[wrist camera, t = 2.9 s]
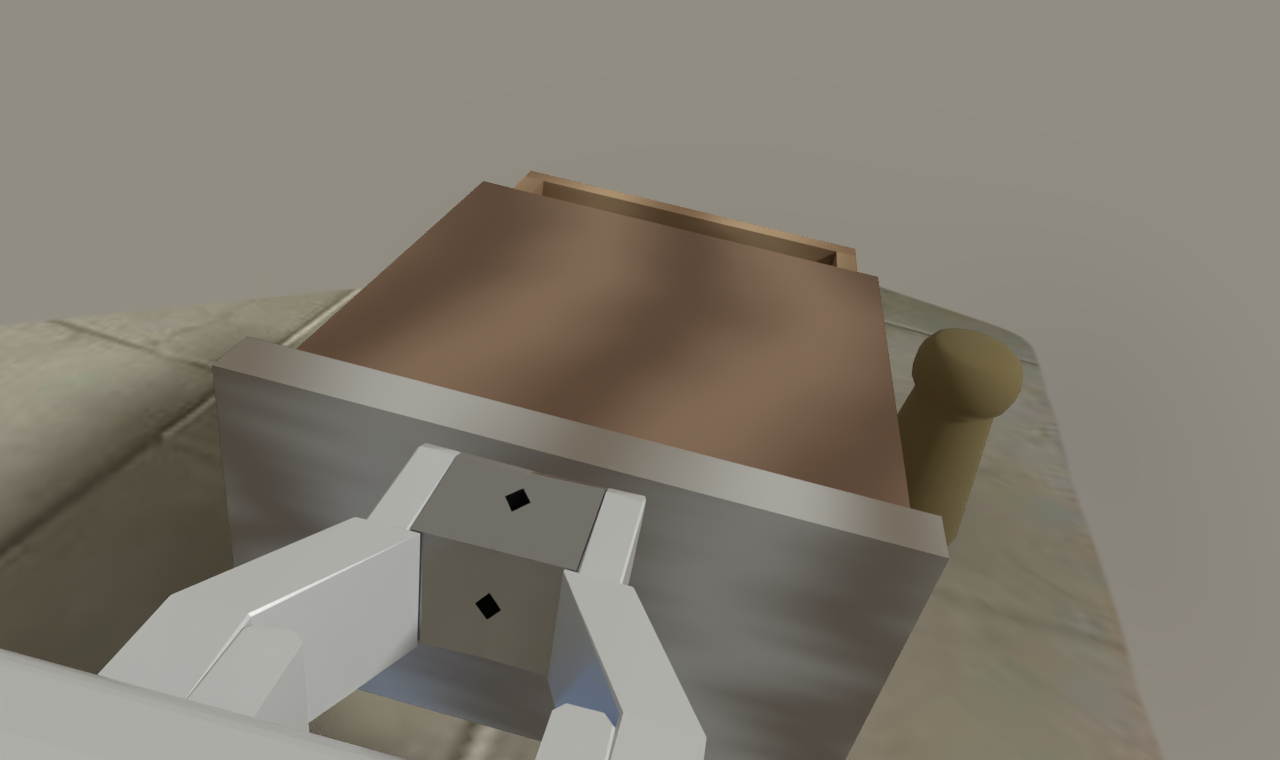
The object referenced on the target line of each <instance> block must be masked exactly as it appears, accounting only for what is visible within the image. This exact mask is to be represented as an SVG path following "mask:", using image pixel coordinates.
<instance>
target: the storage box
mask: <svg viewBox="0 0 1280 760" xmlns="http://www.w3.org/2000/svg"><path fill="white" fill-rule="evenodd" d="M513 189H517V190H521V191H526V192H530V193H534V194H538V195H542V196H546V197H550V198H554V199H558V200H563V201H567V202H571V203H575V204H579V205H583V206H587V207H591V208H596V209H600V210H604V211H608V212H612V213H616V214H620V215H624V216H629V217H633V218H637V219H641V220H645V221H649V222H653V223H657V224H662V225H666V226H670V227H674V228H678V229H682V230H686V231H690V232H695V233H699V234H703V235H707V236H711V237H715V238H719V239H723V240H727V241H732V242H736V243H740V244H744V245H748V246H752V247H756V248H760V249H765V250H769V251H773V252H777V253H781V254H785V255H789V256H793V257H798V258H802V259H806V260H810V261H814V262H818V263H822V264H826V265H831V266H835V267H839V268H843V269H847V270H851V271H855V272H857V264H856V253H855V249H853V248H849V247H844V246H841V245H837V244H833V243H828V242H824V241H820V240H816V239H811V238H807V237H803V236H799V235H795V234H791V233H787V232H783V231H779V230H774V229H770V228H766V227H762V226H757V225H753V224H749V223H745V222H741V221H737V220H733V219H728V218H725V217H720V216H716V215H712V214H708V213H704V212H700V211H695V210H691V209H687V208H683V207H679V206H675V205H671V204H666V203H662V202H658V201H654V200H650V199H646V198H642V197H637V196H633V195H629V194H625V193H621V192H616V191H613V190H608V189H604V188H600V187H596V186H592V185H588V184H583V183H579V182H575V181H571V180H567V179H563V178H558V177H554V176H550V175H546V174H542V173H538V172H534V171H530V172H529V173H528V174H527V175H526V176H525V177H524V179H522V180H521V181H520V182H519V183H518V185H516V186H515V187H514V188H513Z"/></svg>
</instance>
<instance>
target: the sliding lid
mask: <svg viewBox="0 0 1280 760" xmlns="http://www.w3.org/2000/svg"><path fill="white" fill-rule="evenodd" d="M212 370H213V379H214V389H215V398H216V407H217V416H218V425H219V435H220V444H221V453H222V462H223V471H224V481H225V490H226V499H227V508H228V517H229V527H230V536H231V545H232V554H233V564H234V568H235V567H238V566H240V565H242V564H245V563H247V562H249V561H252V560H254V559H257V558H259V557H261V556H264V555H266V554H268V553H271V552H273V551H275V550H278V549H280V548H282V547H285V546H287V545H290V544H292V543H294V542H297V541H299V540H301V539H304V538H306V537H308V536H311V535H313V534H315V533H318V532H320V531H323V530H325V529H327V528H330V527H332V526H334V525H337V524H339V523H341V522H344V521H346V520H348V519H351V518H353V517H358V518H362V519H366V518H367V517H368V515H369V514H370V513H371V511H372V510H373V509H374V507H375V506H376V504H377V503H378V502H379V500H380V499H381V497H382V496H383V495H384V493H385V492H386V490H387V489H388V488H389V486H390V485H391V484H392V482H393V481H394V479H395V478H396V477H397V475H398V474H399V472H400V471H401V470H402V468H403V467H404V465H405V464H406V463H407V461H408V460H409V458H410V457H411V456H412V454H413V453H414V452H415V450H416V449H417V448H418V447H419V446H421V445H423V444H425V443H428V444H432V445H436V446H440V447H444V448H448V449H451V450H455V451H459V452H461V453H462V452H465V453H468V454H472V455H476V456H480V457H483V458H487V459H491V460H495V461H498V462H502V463H506V464H510V465H513V466H517V467H521V468H525V469H528V470H532V471H534V472H539V473H543V474H547V475H552V476H556V477H560V478H564V479H568V480H573V481H577V482H581V483H585V484H589V485H594V486H598V487H602V488H606V489H609V488H611V489H616V490H620V491H625V492H629V493H634V494H638V495H643V496H645V498H646V504H645V510H644V514H643V519H642V524H641V529H640V533H639V538H638V543H637V547H636V552H635V557H634V561H633V566H632V571H631V575H630V580H629V584H628V586H631V587H634V589H635V591H636V593H637V595H638V598H639V600H640V602H641V604H642V606H643V608H644V610H645V612H646V614H647V616H648V618H649V620H650V622H651V624H652V626H653V628H654V630H655V633H656V635H657V637H658V639H659V641H660V643H661V645H662V647H663V649H664V651H665V653H666V655H667V657H668V659H669V661H670V663H671V665H672V667H673V670H674V672H675V674H676V676H677V678H678V680H679V682H680V684H681V686H682V688H683V690H684V692H685V694H686V696H687V698H688V700H689V702H690V705H691V707H692V709H693V711H694V713H695V715H696V717H697V719H698V721H699V723H700V725H701V727H702V729H703V731H704V733H705V735H706V737H707V738H706V746H705V753H704V760H845V759H846V757H847V755H848V753H849V751H850V749H851V747H852V745H853V744H854V742H855V740H856V738H857V736H858V734H859V732H860V730H861V728H862V726H863V724H864V722H865V720H866V718H867V716H868V715H869V713H870V711H871V709H872V707H873V705H874V703H875V701H876V699H877V697H878V695H879V693H880V691H881V689H882V688H883V686H884V684H885V682H886V680H887V678H888V676H889V674H890V672H891V670H892V668H893V666H894V664H895V662H896V660H897V659H898V657H899V655H900V653H901V651H902V649H903V647H904V645H905V643H906V641H907V639H908V637H909V635H910V633H911V631H912V630H913V628H914V626H915V624H916V622H917V620H918V618H919V616H920V614H921V612H922V610H923V608H924V606H925V604H926V602H927V601H928V599H929V597H930V595H931V593H932V591H933V589H934V587H935V585H936V583H937V581H938V579H939V577H940V575H941V574H942V572H943V570H944V568H945V566H946V564H947V562H948V560H949V554H948V548H947V543H946V538H945V532H944V527H943V522H942V516H938V515H934V514H930V513H926V512H922V511H919V510H915V509H911V508H910V503H909V496H908V489H907V482H906V474H905V467H904V460H903V453H902V446H901V439H900V432H899V424H898V417H897V410H896V403H895V396H894V389H893V382H892V374H891V367H890V360H889V353H888V346H887V339H886V332H885V324H884V317H883V310H882V303H881V296H880V289H879V282H878V277H876V276H872V275H868V274H863V273H859V272H855V271H851V270H847V269H843V268H839V267H835V266H831V265H826V264H822V263H818V262H814V261H810V260H806V259H802V258H798V257H793V256H789V255H785V254H781V253H777V252H773V251H769V250H765V249H760V248H756V247H752V246H748V245H744V244H740V243H736V242H732V241H727V240H723V239H719V238H715V237H711V236H707V235H703V234H699V233H695V232H690V231H686V230H682V229H678V228H674V227H670V226H666V225H662V224H657V223H653V222H649V221H645V220H641V219H637V218H633V217H629V216H624V215H620V214H616V213H612V212H608V211H604V210H600V209H596V208H591V207H587V206H583V205H579V204H575V203H571V202H567V201H563V200H558V199H554V198H550V197H546V196H542V195H538V194H534V193H530V192H526V191H521V190H517V189H513V188H509V187H505V186H500V185H497V184H493V183H488V182H484V181H483V182H482V183H481V184H480V185H479V186H478V187H477V188H475V189H474V190H473V191H472V192H471V193H470V194H469V195H467V196H466V197H465V198H464V199H463V200H462V201H461V202H460V203H459V204H458V205H456V206H455V207H454V208H453V209H452V210H451V211H450V212H449V213H447V214H446V215H445V216H444V217H443V218H442V219H441V220H440V221H438V222H437V223H436V224H435V225H434V226H433V227H432V228H431V229H430V230H428V231H427V232H426V233H425V234H424V235H423V236H422V237H421V238H419V239H418V240H417V241H416V242H415V243H414V244H413V245H412V246H411V247H410V248H408V249H407V250H406V251H405V252H404V253H403V254H402V255H401V256H399V257H398V258H397V259H396V260H395V261H394V262H393V263H392V264H391V265H389V266H388V267H387V268H386V269H385V270H384V271H383V272H382V273H380V274H379V275H378V276H377V277H376V278H375V279H374V280H373V281H372V282H370V283H369V284H368V285H367V286H366V287H365V288H364V289H363V290H361V291H360V292H359V293H358V294H357V295H356V296H355V297H354V298H353V299H351V300H350V301H349V302H348V303H347V304H346V305H345V306H344V307H342V308H341V309H340V310H339V311H338V312H337V313H336V314H335V315H334V316H332V317H331V318H330V319H329V320H328V321H327V322H326V323H325V324H323V325H322V326H321V327H320V328H319V329H318V330H317V331H316V332H315V333H313V334H312V335H311V336H310V337H309V338H308V339H307V340H306V341H305V342H303V343H302V344H301V345H300V346H299V347H298V348H297V349H293V348H290V347H286V346H282V345H278V344H274V343H270V342H266V341H263V340H259V339H255V338H251V337H246V338H245V339H244V340H243V341H241V342H240V343H239V344H238V345H236V346H235V347H234V348H233V349H231V350H230V351H229V352H228V353H226V354H225V355H224V356H223V357H221V358H220V359H219V360H218V361H216V362H215V363H214V364H213V365H212ZM358 689H359V690H362V691H366V692H369V693H373V694H376V695H380V696H384V697H387V698H391V699H394V700H398V701H401V702H405V703H408V704H412V705H415V706H419V707H422V708H426V709H429V710H433V711H436V712H440V713H443V714H447V715H450V716H454V717H457V718H461V719H464V720H468V721H471V722H475V723H479V724H482V725H486V726H489V727H493V728H496V729H500V730H503V731H507V732H510V733H514V734H517V735H521V736H524V737H528V738H531V739H535V740H538V741H542V739H543V736H544V733H545V730H546V727H547V724H548V721H549V718H550V715H551V712H552V710H554V709H555V705H554V702H553V698H552V694H551V691H550V687H549V683H548V676H545V675H541V674H538V673H534V672H531V671H528V670H524V669H521V668H517V667H514V666H510V665H507V664H504V663H500V662H497V661H493V660H490V659H486V658H483V657H479V656H474V655H470V654H466V653H461V652H457V651H453V650H449V649H444V648H440V647H436V646H431V645H427V644H423V643H418V642H417V647H416V648H414V649H413V650H411V651H410V652H408V653H407V654H406V655H404V656H403V657H401V658H400V659H399V660H397V661H396V662H394V663H393V664H392V665H390V666H389V667H387V668H386V669H384V670H383V671H382V672H380V673H379V674H377V675H376V676H375V677H373V678H372V679H370V680H369V681H367V682H366V683H365V684H363V685H362V686H360V687H359V688H358Z"/></svg>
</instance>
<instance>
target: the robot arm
mask: <svg viewBox="0 0 1280 760" xmlns="http://www.w3.org/2000/svg"><path fill="white" fill-rule="evenodd" d="M645 504H646V498H645V496H643V495H638V494H634V493H629V492H625V491H620V490H616V489H611V488H609V489H606V488H602V487H598V486H594V485H589V484H585V483H581V482H577V481H573V480H568V479H564V478H560V477H556V476H552V475H547V474H543V473H539V472H534V471H532V470H528V469H525V468H521V467H517V466H513V465H510V464H506V463H502V462H498V461H495V460H491V459H487V458H483V457H480V456H476V455H472V454H468V453H465V452H462V453H461V452H459V451H455V450H451V449H448V448H444V447H440V446H436V445H432V444H428V443H425V444H423V445H421V446H419V447H418V448H417V449H416V450H415V452H414V453H413V454H412V456H411V457H410V458H409V460H408V461H407V463H406V464H405V465H404V467H403V468H402V470H401V471H400V472H399V474H398V475H397V477H396V478H395V479H394V481H393V482H392V484H391V485H390V486H389V488H388V489H387V490H386V492H385V493H384V495H383V496H382V497H381V499H380V500H379V502H378V503H377V504H376V506H375V507H374V509H373V510H372V511H371V513H370V514H369V515H368V517H367V518H366V519H362V518H358V517H353V518H351V519H348V520H346V521H344V522H341V523H339V524H337V525H334V526H332V527H330V528H327V529H325V530H323V531H320V532H318V533H315V534H313V535H311V536H308V537H306V538H304V539H301V540H299V541H297V542H294V543H292V544H290V545H287V546H285V547H282V548H280V549H278V550H275V551H273V552H271V553H268V554H266V555H264V556H261V557H259V558H257V559H254V560H252V561H249V562H247V563H245V564H242V565H240V566H238V567H235V568H233V569H231V570H228V571H226V572H224V573H221V574H219V575H216V576H214V577H212V578H209V579H207V580H205V581H202V582H200V583H198V584H195V585H193V586H191V587H188V588H186V589H183V590H181V591H179V592H176V593H174V594H172V595H170V596H169V597H168V598H167V599H166V601H165V602H164V603H163V604H162V605H161V606H160V607H159V608H158V609H157V610H156V611H155V612H154V614H153V615H152V616H151V617H150V618H149V619H148V620H147V621H146V622H145V623H144V624H143V626H142V627H141V628H140V629H139V630H138V631H137V632H136V633H135V634H134V635H133V636H132V637H131V639H130V640H129V641H128V642H127V643H126V644H125V645H124V646H123V647H122V648H121V649H120V651H119V652H118V653H117V654H116V655H115V656H114V657H113V658H112V659H111V660H110V661H109V662H108V664H107V665H106V666H105V667H104V668H103V669H102V670H101V671H100V672H99V673H98V674H93V673H89V672H86V671H82V670H78V669H75V668H71V667H67V666H64V665H60V664H56V663H53V662H49V661H45V660H42V659H38V658H34V657H31V656H27V655H23V654H20V653H16V652H12V651H9V650H5V649H1V648H0V760H408V759H404V758H400V757H397V756H393V755H389V754H386V753H382V752H378V751H375V750H371V749H368V748H364V747H360V746H357V745H353V744H349V743H346V742H342V741H338V740H335V739H331V738H327V737H324V736H320V735H316V734H313V733H309V724H308V723H309V722H311V721H312V720H314V719H315V718H317V717H318V716H319V715H321V714H322V713H324V712H325V711H326V710H328V709H329V708H331V707H332V706H334V705H335V704H336V703H338V702H339V701H341V700H342V699H343V698H345V697H346V696H348V695H349V694H350V693H352V692H353V691H355V690H356V689H358V688H359V687H360V686H362V685H363V684H365V683H366V682H367V681H369V680H370V679H372V678H373V677H375V676H376V675H377V674H379V673H380V672H382V671H383V670H384V669H386V668H387V667H389V666H390V665H392V664H393V663H394V662H396V661H397V660H399V659H400V658H401V657H403V656H404V655H406V654H407V653H408V652H410V651H411V650H413V649H414V648H416V647H417V642H418V643H423V644H427V645H431V646H436V647H440V648H444V649H449V650H453V651H457V652H461V653H466V654H470V655H474V656H479V657H483V658H486V659H490V660H493V661H497V662H500V663H504V664H507V665H510V666H514V667H517V668H521V669H524V670H528V671H531V672H534V673H538V674H541V675H545V676H548V683H549V687H550V691H551V694H552V698H553V702H554V705H555V709H554V710H552V712H551V715H550V718H549V721H548V724H547V727H546V730H545V733H544V736H543V739H542V741H541V744H540V747H539V750H538V753H537V756H536V759H535V760H704V753H705V746H706V738H707V737H706V735H705V733H704V731H703V729H702V727H701V725H700V723H699V721H698V719H697V717H696V715H695V713H694V711H693V709H692V707H691V705H690V702H689V700H688V698H687V696H686V694H685V692H684V690H683V688H682V686H681V684H680V682H679V680H678V678H677V676H676V674H675V672H674V670H673V667H672V665H671V663H670V661H669V659H668V657H667V655H666V653H665V651H664V649H663V647H662V645H661V643H660V641H659V639H658V637H657V635H656V633H655V630H654V628H653V626H652V624H651V622H650V620H649V618H648V616H647V614H646V612H645V610H644V608H643V606H642V604H641V602H640V600H639V598H638V595H637V593H636V591H635V589H634V587H631V586H628V584H629V580H630V575H631V571H632V566H633V561H634V557H635V552H636V547H637V543H638V538H639V533H640V529H641V524H642V519H643V514H644V510H645Z"/></svg>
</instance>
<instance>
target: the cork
mask: <svg viewBox="0 0 1280 760" xmlns="http://www.w3.org/2000/svg"><path fill="white" fill-rule="evenodd" d="M912 377H913V380H914V383H915V386H914V388H913V390H912V391H911V393H910V394H909V396H908V398H907V399H906V401H905V403H904V404H903V406H902V408H901V409H900V411H899V412H898V414H897V417H898V424H899V432H900V439H901V446H902V453H903V460H904V467H905V474H906V482H907V489H908V496H909V503H910V508H911V509H915V510H919V511H922V512H926V513H930V514H934V515H938V516H942V522H943V527H944V532H945V538H946V543H947V545H949V544H950V543H951V542H952V541H953V540H954V539H955V538H956V535H957V532H958V529H959V525H960V522H961V519H962V516H963V513H964V510H965V506H966V503H967V500H968V497H969V494H970V491H971V487H972V484H973V481H974V478H975V475H976V472H977V468H978V465H979V462H980V459H981V456H982V453H983V449H984V446H985V443H986V440H987V437H988V434H989V430H990V427H991V424H992V421H993V418H994V417H997V416H999V415H1001V414H1002V413H1004V412H1005V411H1006V410H1007V409H1008V408H1009V407H1010V406H1011V405H1012V404H1013V403H1014V402H1015V400H1016V398H1017V397H1018V395H1019V393H1020V391H1021V386H1022V380H1023V370H1022V364H1021V362H1020V360H1019V359H1018V357H1017V356H1016V355H1015V354H1014V353H1013V352H1012V351H1011V350H1010V349H1009V348H1008V347H1007V346H1006V345H1004V344H1003V343H1001V342H999V341H998V340H996V339H994V338H992V337H990V336H988V335H985V334H982V333H979V332H976V331H972V330H967V329H958V328H951V329H944V330H939V331H938V332H936V333H934V334H933V335H931V336H930V337H928V338H927V339H925V341H924V342H923V343H922V344H921V346H920V347H919V349H918V352H917V354H916V357H915V360H914V363H913V369H912Z"/></svg>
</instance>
